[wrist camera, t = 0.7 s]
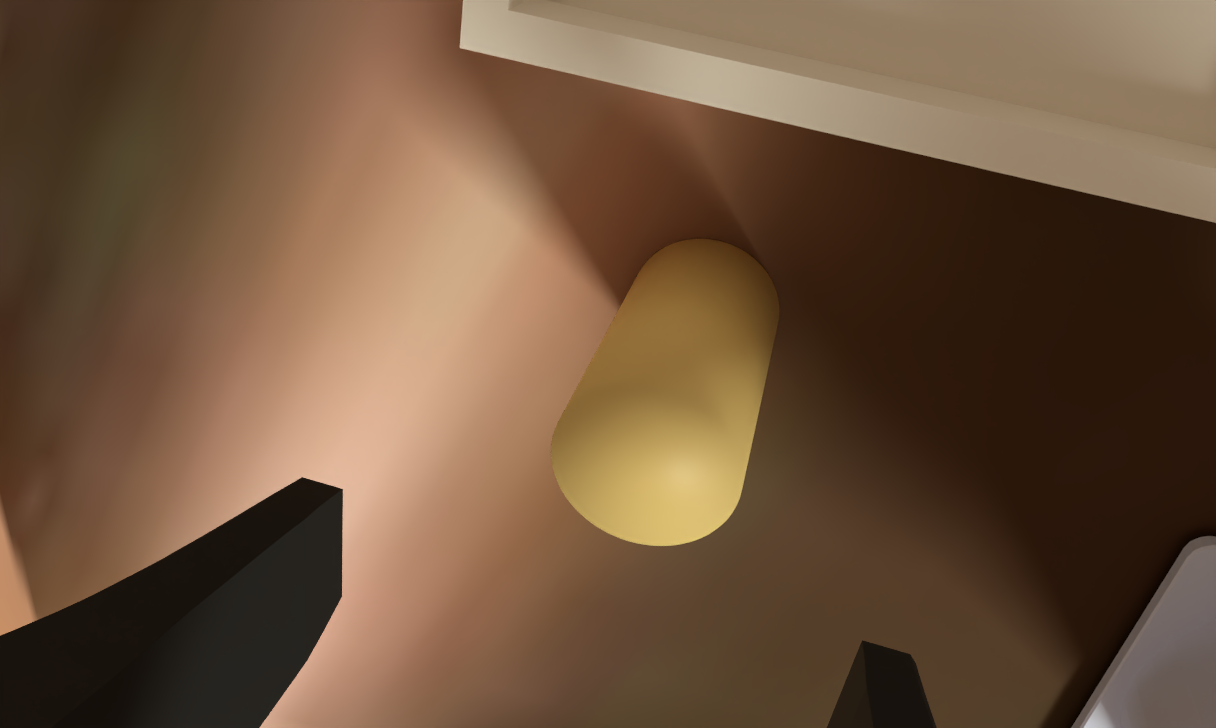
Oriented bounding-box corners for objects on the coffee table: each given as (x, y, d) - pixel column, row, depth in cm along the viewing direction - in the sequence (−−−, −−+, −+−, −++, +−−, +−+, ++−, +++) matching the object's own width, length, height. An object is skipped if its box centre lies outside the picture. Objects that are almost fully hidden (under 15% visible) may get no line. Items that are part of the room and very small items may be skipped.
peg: (796, 259, 20) (764, 414, 15) (759, 389, 22) (719, 567, 17) (645, 222, 20) (563, 360, 15) (620, 352, 22) (539, 515, 17)
